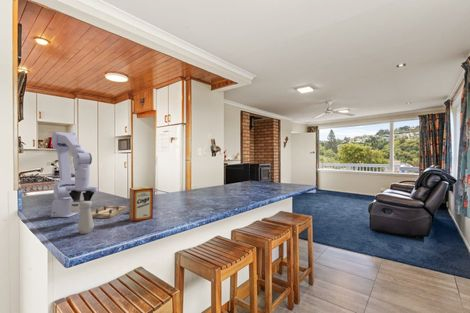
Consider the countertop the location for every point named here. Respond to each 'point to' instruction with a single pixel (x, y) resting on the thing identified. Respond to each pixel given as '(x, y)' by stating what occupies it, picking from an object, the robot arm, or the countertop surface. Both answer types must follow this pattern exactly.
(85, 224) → the salt shaker
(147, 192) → the baking soda box
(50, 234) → the countertop surface
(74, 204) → the drive block
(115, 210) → the pin tray
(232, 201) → the countertop surface
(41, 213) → the countertop surface
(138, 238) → the countertop surface
